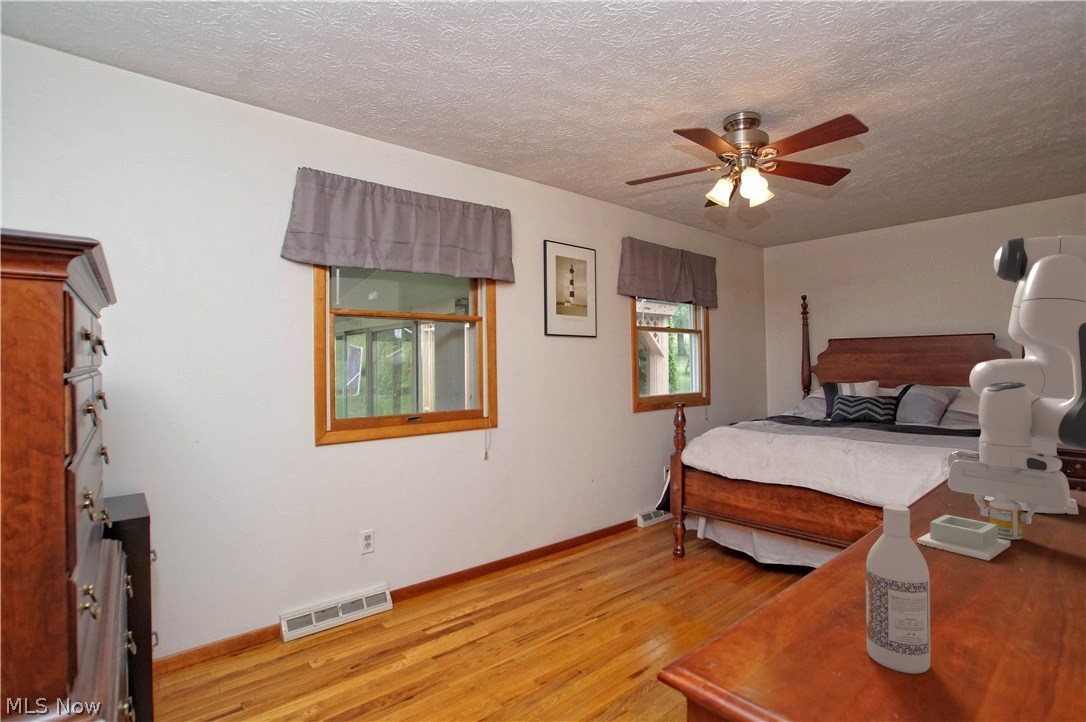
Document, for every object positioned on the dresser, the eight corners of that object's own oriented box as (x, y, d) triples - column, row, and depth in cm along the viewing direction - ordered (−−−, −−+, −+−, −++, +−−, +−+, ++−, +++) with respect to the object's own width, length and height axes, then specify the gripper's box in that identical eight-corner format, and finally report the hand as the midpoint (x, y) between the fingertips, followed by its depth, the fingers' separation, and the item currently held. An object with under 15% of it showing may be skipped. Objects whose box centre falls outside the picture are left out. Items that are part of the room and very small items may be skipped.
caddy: (942, 530, 120) (942, 511, 120) (1010, 545, 111) (1010, 524, 111) (917, 543, 112) (917, 522, 112) (988, 560, 102) (988, 537, 102)
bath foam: (871, 640, 74) (870, 497, 74) (932, 657, 70) (931, 506, 70) (862, 662, 69) (860, 508, 69) (928, 682, 64) (926, 518, 64)
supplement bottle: (1009, 532, 118) (1008, 489, 118) (1029, 540, 113) (1027, 495, 113) (983, 532, 119) (982, 488, 119) (1002, 540, 113) (1000, 494, 114)
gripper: (942, 451, 123) (943, 510, 123) (1064, 465, 106) (1065, 534, 106) (953, 448, 126) (953, 506, 126) (1072, 461, 109) (1072, 528, 110)
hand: (1005, 519), depth 116 cm, fingers closed on supplement bottle, 5 cm apart
